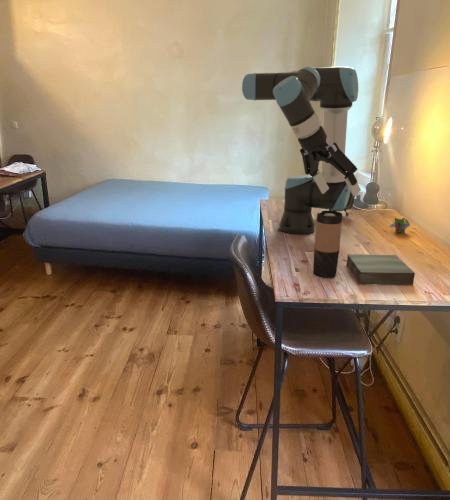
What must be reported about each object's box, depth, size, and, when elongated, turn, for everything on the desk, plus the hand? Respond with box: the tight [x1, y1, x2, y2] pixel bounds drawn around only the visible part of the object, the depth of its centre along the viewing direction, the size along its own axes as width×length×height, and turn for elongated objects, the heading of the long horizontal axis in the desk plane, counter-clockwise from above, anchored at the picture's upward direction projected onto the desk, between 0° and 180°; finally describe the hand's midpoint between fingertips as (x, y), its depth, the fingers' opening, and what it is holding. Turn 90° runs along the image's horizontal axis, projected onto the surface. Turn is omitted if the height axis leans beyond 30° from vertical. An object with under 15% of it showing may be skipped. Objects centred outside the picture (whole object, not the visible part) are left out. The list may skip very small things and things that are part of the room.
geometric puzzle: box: [389, 217, 411, 235], centre depth 180 cm, size 7×7×8 cm
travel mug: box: [312, 210, 343, 279], centre depth 133 cm, size 8×8×20 cm
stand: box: [346, 253, 416, 286], centre depth 135 cm, size 16×16×4 cm
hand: (340, 192), depth 128 cm, fingers open, 13 cm apart
